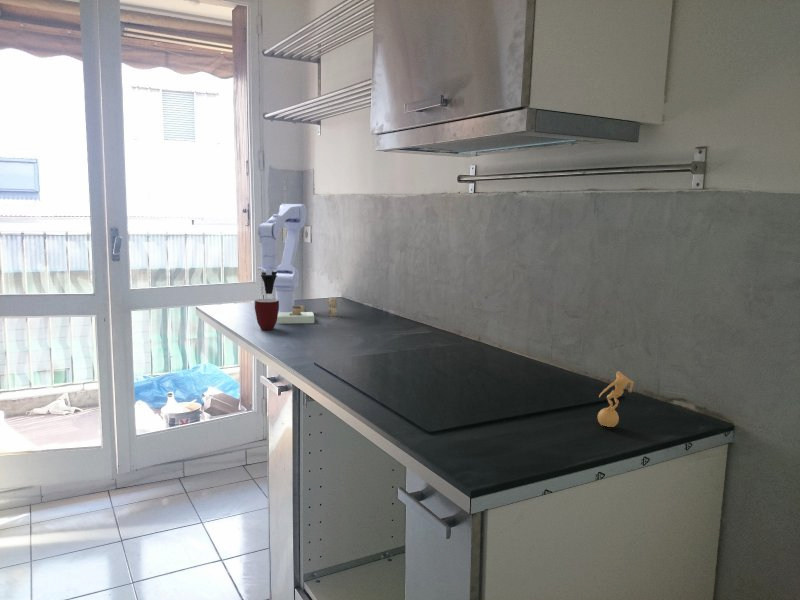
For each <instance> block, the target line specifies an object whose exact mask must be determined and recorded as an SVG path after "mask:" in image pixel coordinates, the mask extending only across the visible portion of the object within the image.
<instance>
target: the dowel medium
mask: <svg viewBox="0 0 800 600" xmlns="http://www.w3.org/2000/svg"><path fill="white" fill-rule="evenodd" d="M301 306H302V305H294V306H292V315H301Z"/></svg>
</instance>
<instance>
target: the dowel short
mask: <svg viewBox="0 0 800 600" xmlns="http://www.w3.org/2000/svg"><path fill="white" fill-rule="evenodd" d="M300 306H301V312H306V305H300Z"/></svg>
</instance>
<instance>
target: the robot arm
mask: <svg viewBox="0 0 800 600" xmlns="http://www.w3.org/2000/svg"><path fill="white" fill-rule="evenodd" d="M307 216H308V212H307V206H306V205H305V204H304V203H281V204H280V205H279V210H278V213H276V214H275V213H274V214H272V216H271V217H269V218H268V220H266V222H261V224H258V227H257V236H258V238H259V241H258V242H259V244H260V266H258V267H257V270H260V271H262V272H261V274H260V277H261V279H262V282H263V285H264V291H265V294H268V295H272V294H273V291H275V299H277V300H279V311H278V312H292V306H295V290H296V289H298V286H299V284H300V283H299V282H300V279H299V275H300V273H299V271H298V269H297V268H296V267H294V266H295V260H296V254H297V251H298V247H299V246H298V245H299V241H300V240H299V239H300V235H301V230H302V228H304V227H305V225H306V222H307ZM284 227H286V228H287V233H286V236H285V242H284V249H283V254H282V258H281V263H280V264H279V265H278V262H277V261H278V257H277V256H278V254H277V250H278V249H277V248H278V247H277V244H278V243H277V240H278V239H279V237H280V233H281V230H282V229H283V228H284Z"/></svg>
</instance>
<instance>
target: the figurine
mask: <svg viewBox="0 0 800 600" xmlns="http://www.w3.org/2000/svg"><path fill="white" fill-rule="evenodd" d="M615 377H616V379H615V380H614V381H613V382H611V383H609V385H608V386H607V387H606V388H604V389H603V390H602V392H600V394H599V396H598V398H601V396H602V395H603V394H604V393H606V392H607V391H608V390H609V389H610V388H612V387H615V388H614V389H612V390H611V392H609V394H607V396H606V399H607V400H606V401H607V402H608V404H609V406H608V407H604V408H602V409H600V411H598V413H597V422H598V423H599V424H600V426H602V425H603V426H607V427H612V428H614V427H616V425H618V424H619V422H620V420H619V414H618V412H617V411H616V410H615V409H616V408H617V407H618V406H619V403H620V402H619V399H618V398H619V397H621V396H622V395H623V394H624V390H625V388H626V387H627V386H628V384H630V386H629V388H628V389H627V390H628V391H627V392H629V393H632V392H633V387H634V384H635V382H634V381H633V380H632V379H630V378H628V377H627V376H626V375H624V374H623V373H622V372H621V371H620V370H618V371H616V374H615ZM612 399H613V400H614V403H615V404H614V405H613V400H612ZM603 426H602V427H603Z"/></svg>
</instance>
